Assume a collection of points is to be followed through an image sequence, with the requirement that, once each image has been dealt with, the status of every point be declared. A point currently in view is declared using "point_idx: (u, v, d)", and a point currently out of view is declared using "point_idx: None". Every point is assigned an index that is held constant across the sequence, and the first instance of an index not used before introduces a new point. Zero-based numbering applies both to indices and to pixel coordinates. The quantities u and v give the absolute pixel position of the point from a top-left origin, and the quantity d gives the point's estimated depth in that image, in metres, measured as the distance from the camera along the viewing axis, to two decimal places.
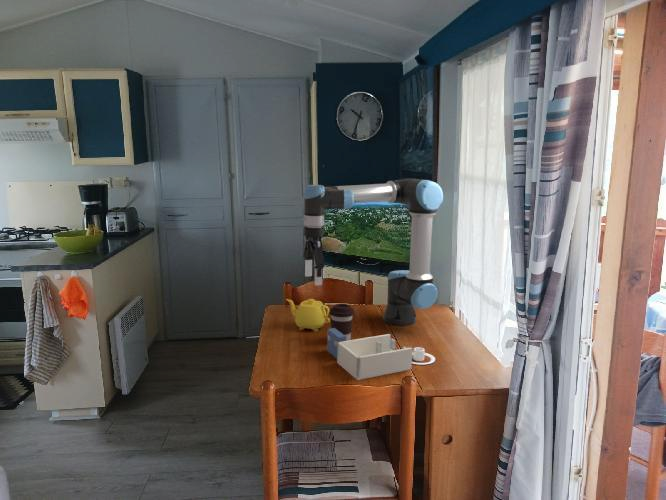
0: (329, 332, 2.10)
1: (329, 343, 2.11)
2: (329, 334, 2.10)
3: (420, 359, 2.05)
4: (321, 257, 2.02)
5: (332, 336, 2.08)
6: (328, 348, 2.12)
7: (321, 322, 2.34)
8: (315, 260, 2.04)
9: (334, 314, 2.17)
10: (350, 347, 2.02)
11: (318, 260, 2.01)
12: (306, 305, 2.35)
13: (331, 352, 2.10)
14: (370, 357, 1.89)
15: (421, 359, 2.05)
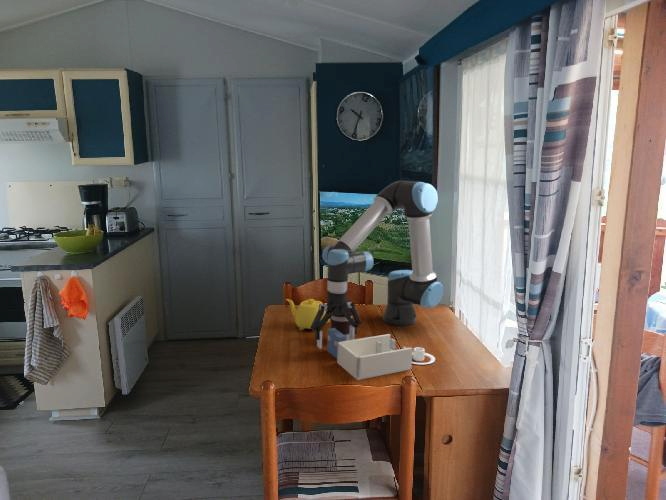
0: (329, 332, 2.10)
1: (329, 343, 2.11)
2: (329, 334, 2.10)
3: (420, 359, 2.05)
4: (315, 320, 2.03)
5: (332, 336, 2.08)
6: (328, 348, 2.12)
7: None
8: (319, 322, 2.05)
9: None
10: (350, 347, 2.02)
11: (313, 322, 2.04)
12: (306, 305, 2.35)
13: (331, 352, 2.10)
14: (370, 357, 1.89)
15: (421, 359, 2.05)
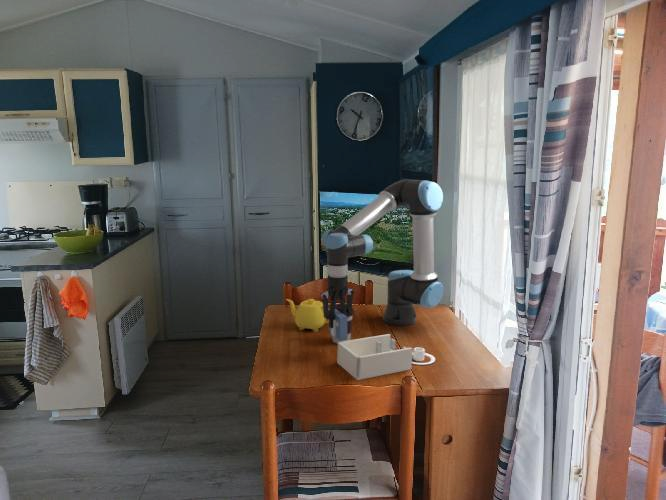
0: None
1: None
2: None
3: (420, 359, 2.05)
4: (325, 309, 2.03)
5: None
6: (329, 329, 2.11)
7: (321, 322, 2.34)
8: (329, 310, 2.06)
9: None
10: (350, 347, 2.02)
11: (323, 311, 2.05)
12: (306, 305, 2.35)
13: None
14: (370, 357, 1.89)
15: (421, 359, 2.05)
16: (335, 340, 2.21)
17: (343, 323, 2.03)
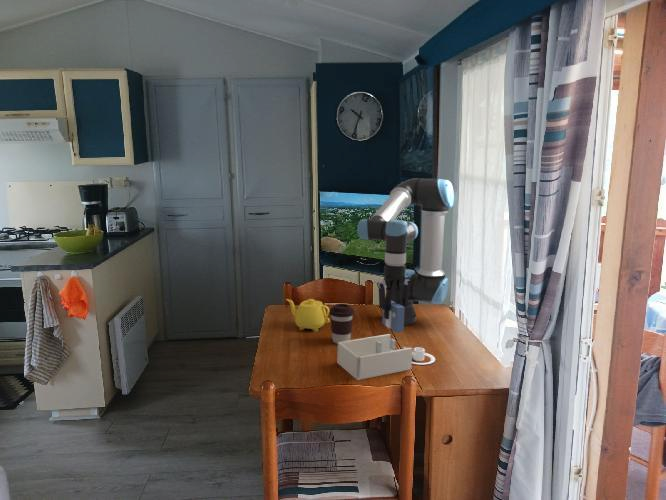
0: None
1: None
2: None
3: (420, 359, 2.05)
4: (381, 299, 1.95)
5: None
6: (383, 321, 2.03)
7: (321, 322, 2.34)
8: (384, 301, 1.98)
9: (334, 314, 2.17)
10: (350, 347, 2.02)
11: (379, 301, 1.97)
12: (306, 305, 2.35)
13: None
14: (370, 357, 1.89)
15: (421, 359, 2.05)
16: (335, 340, 2.21)
17: (400, 314, 1.94)
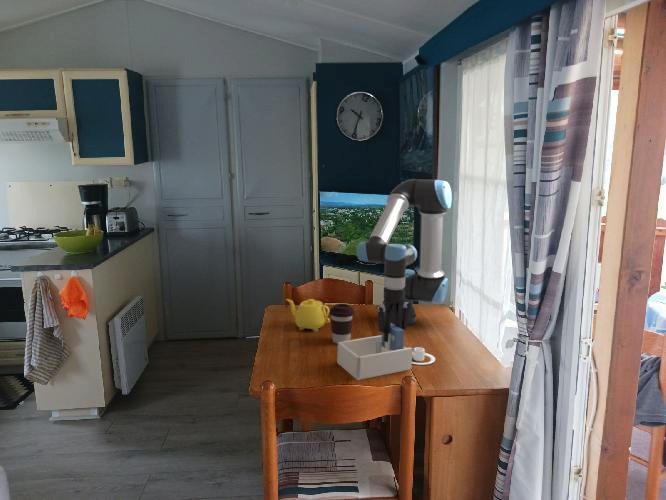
0: None
1: None
2: None
3: (420, 359, 2.05)
4: (380, 322, 1.97)
5: None
6: (383, 343, 2.04)
7: (321, 322, 2.34)
8: None
9: (334, 314, 2.17)
10: (350, 347, 2.02)
11: (379, 324, 1.98)
12: (306, 305, 2.35)
13: None
14: (370, 357, 1.89)
15: (421, 359, 2.05)
16: (335, 340, 2.21)
17: (399, 337, 1.96)
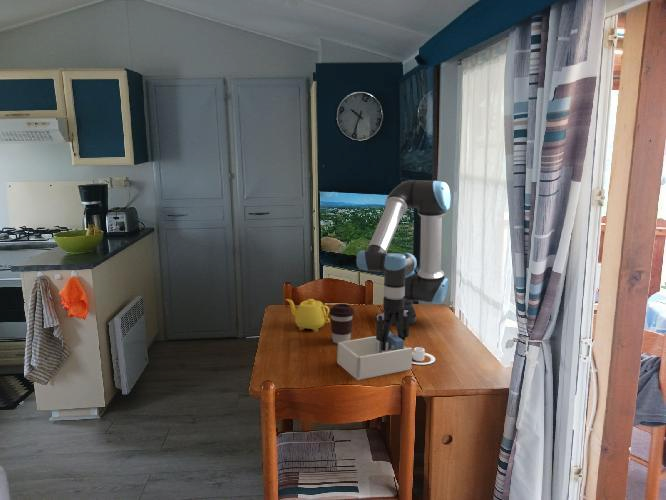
0: None
1: None
2: None
3: (420, 359, 2.05)
4: (378, 331, 1.97)
5: (388, 340, 2.01)
6: None
7: (321, 322, 2.34)
8: None
9: (334, 314, 2.17)
10: (350, 347, 2.02)
11: (376, 333, 1.99)
12: (306, 305, 2.35)
13: None
14: (370, 357, 1.89)
15: (421, 359, 2.05)
16: (335, 340, 2.21)
17: (399, 347, 1.97)
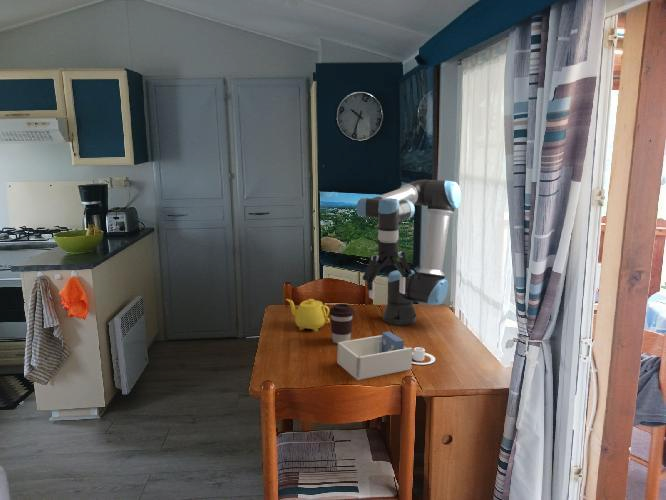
0: (384, 336, 2.03)
1: (384, 347, 2.04)
2: (384, 338, 2.03)
3: (420, 359, 2.05)
4: (368, 270, 2.01)
5: (388, 340, 2.01)
6: None
7: (321, 322, 2.34)
8: (370, 273, 2.03)
9: (334, 314, 2.17)
10: (350, 347, 2.02)
11: (365, 272, 2.02)
12: (306, 305, 2.35)
13: None
14: (370, 357, 1.89)
15: (421, 359, 2.05)
16: (335, 340, 2.21)
17: (399, 347, 1.97)
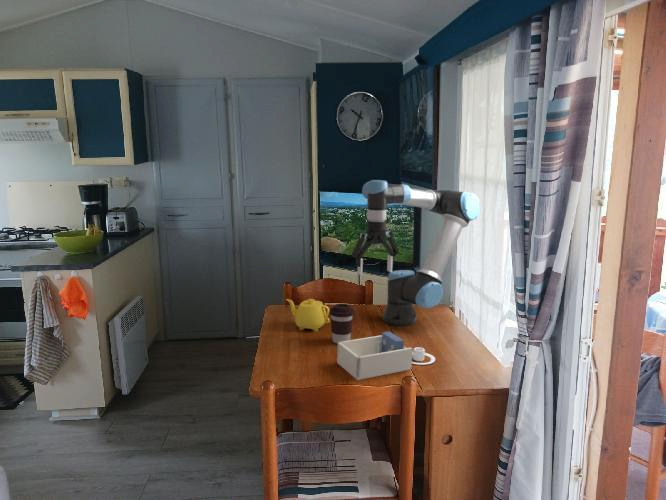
0: (384, 336, 2.03)
1: (384, 347, 2.04)
2: (384, 338, 2.03)
3: (420, 359, 2.05)
4: (356, 247, 2.12)
5: (388, 340, 2.01)
6: None
7: (321, 322, 2.34)
8: (359, 250, 2.15)
9: (334, 314, 2.17)
10: (350, 347, 2.02)
11: (354, 249, 2.13)
12: (306, 305, 2.35)
13: None
14: (370, 357, 1.89)
15: (421, 359, 2.05)
16: (335, 340, 2.21)
17: (399, 347, 1.97)
